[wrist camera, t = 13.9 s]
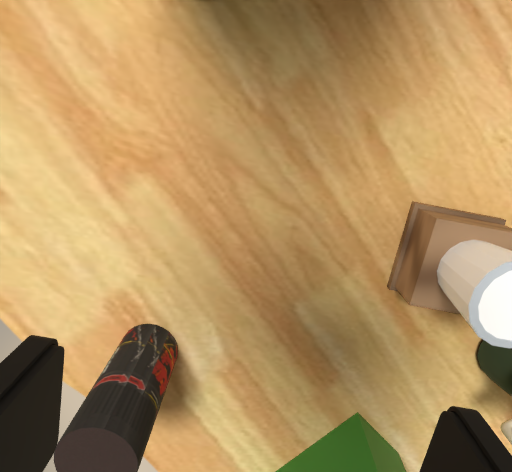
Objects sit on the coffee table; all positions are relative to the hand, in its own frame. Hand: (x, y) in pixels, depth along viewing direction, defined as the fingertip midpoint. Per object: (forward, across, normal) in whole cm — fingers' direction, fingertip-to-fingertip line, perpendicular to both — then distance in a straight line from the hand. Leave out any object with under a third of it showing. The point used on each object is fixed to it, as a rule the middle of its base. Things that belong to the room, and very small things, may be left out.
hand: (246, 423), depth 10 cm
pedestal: (+30, -19, +2) cm, 36 cm away
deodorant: (+31, +8, +18) cm, 36 cm away
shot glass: (+26, -19, +2) cm, 32 cm away
